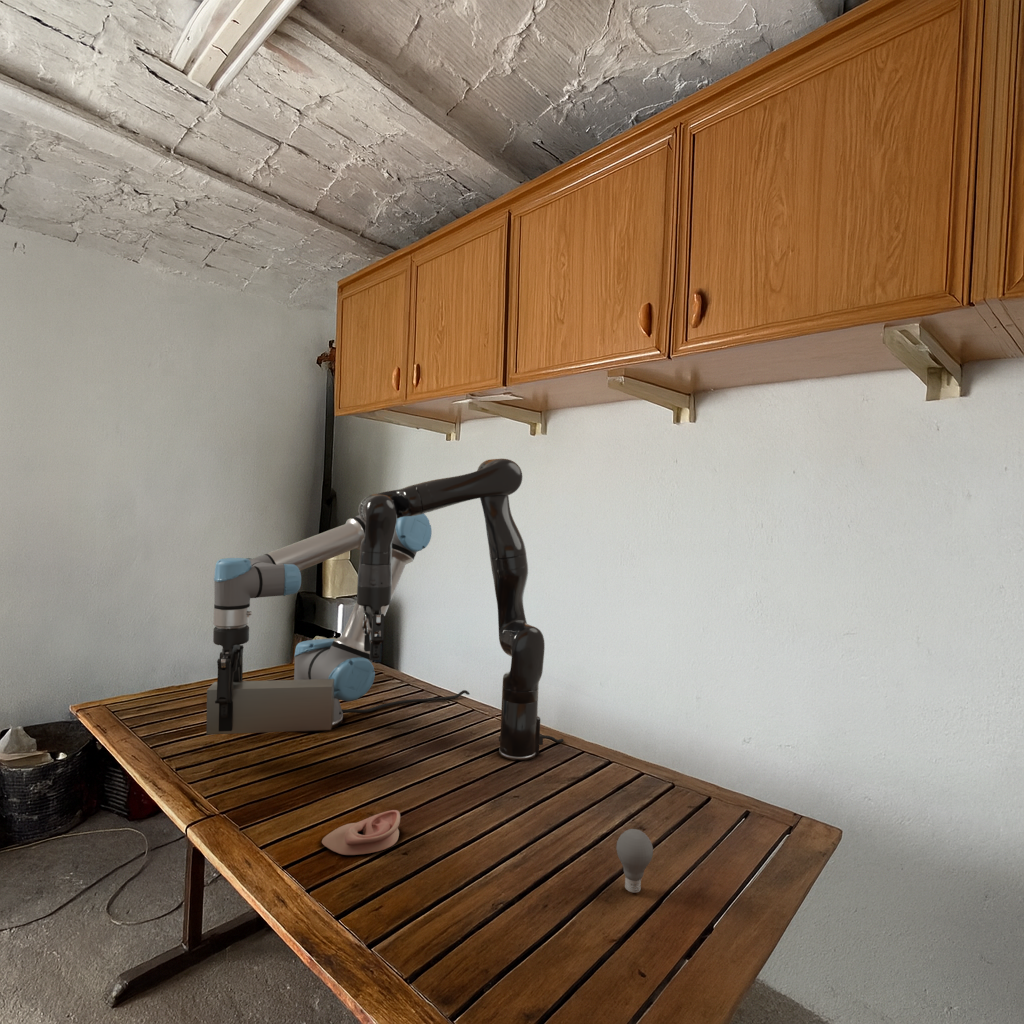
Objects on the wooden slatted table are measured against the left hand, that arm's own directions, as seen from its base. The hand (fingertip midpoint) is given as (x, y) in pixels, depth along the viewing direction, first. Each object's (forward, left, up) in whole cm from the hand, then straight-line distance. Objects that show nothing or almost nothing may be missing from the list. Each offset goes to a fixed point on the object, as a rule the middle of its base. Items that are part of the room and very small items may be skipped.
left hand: (229, 724), depth 146 cm
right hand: (-18, +28, +18) cm, 38 cm away
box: (-7, +6, -1) cm, 9 cm away
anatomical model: (-1, +47, -10) cm, 48 cm away
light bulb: (-22, +93, -10) cm, 96 cm away
